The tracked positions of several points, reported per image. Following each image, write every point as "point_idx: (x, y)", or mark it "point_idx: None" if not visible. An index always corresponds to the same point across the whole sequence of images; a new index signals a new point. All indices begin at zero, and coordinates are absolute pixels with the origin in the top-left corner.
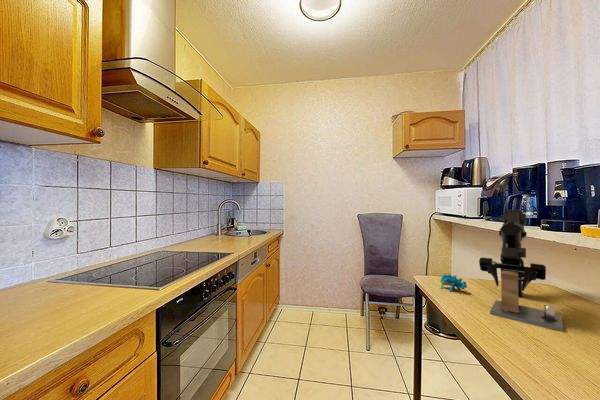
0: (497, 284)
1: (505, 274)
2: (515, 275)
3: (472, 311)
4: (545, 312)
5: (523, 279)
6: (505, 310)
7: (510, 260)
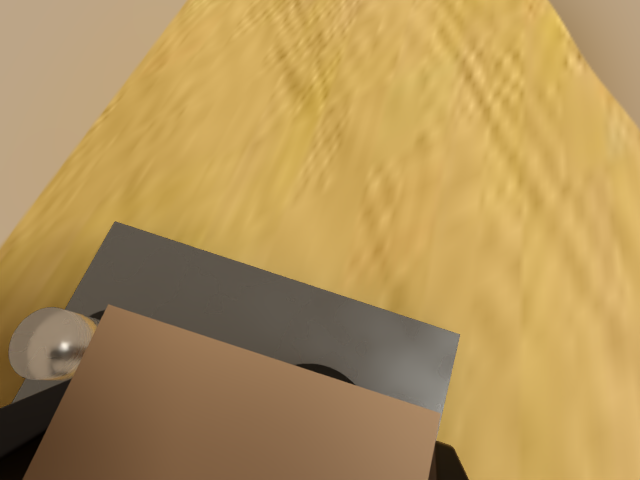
0: (442, 445)
1: (340, 386)
2: (154, 324)
3: (569, 336)
4: None
5: (22, 444)
6: None
7: None
